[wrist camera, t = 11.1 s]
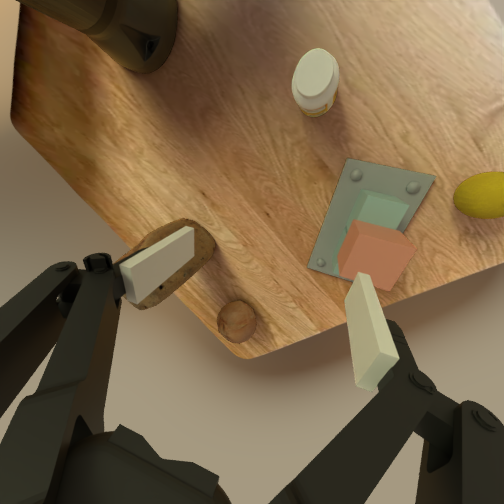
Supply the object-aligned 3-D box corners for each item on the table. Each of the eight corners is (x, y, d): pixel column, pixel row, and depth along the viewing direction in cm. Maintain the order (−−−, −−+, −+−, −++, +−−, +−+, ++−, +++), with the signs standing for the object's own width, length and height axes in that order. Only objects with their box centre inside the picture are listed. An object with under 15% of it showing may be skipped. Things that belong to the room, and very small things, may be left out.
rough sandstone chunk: (223, 249, 46) (163, 306, 29) (202, 263, 50) (137, 320, 33) (193, 209, 44) (109, 245, 27) (173, 226, 48) (89, 267, 31)
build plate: (347, 157, 32) (352, 158, 25) (432, 175, 29) (461, 181, 23) (307, 264, 41) (304, 284, 35) (369, 284, 39) (377, 308, 33)
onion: (234, 298, 55) (202, 312, 48) (256, 292, 49) (224, 308, 42) (246, 332, 54) (216, 351, 47) (270, 330, 48) (240, 353, 41)
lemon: (433, 202, 30) (464, 216, 24) (462, 163, 28) (507, 167, 21) (472, 215, 30) (516, 234, 23) (506, 177, 27) (567, 185, 20)
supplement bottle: (318, 61, 28) (315, 22, 20) (345, 91, 28) (353, 64, 20) (290, 100, 31) (277, 80, 22) (315, 126, 31) (311, 116, 23)
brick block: (353, 219, 28) (359, 233, 23) (399, 230, 27) (417, 249, 22) (337, 255, 31) (339, 275, 26) (378, 268, 30) (389, 291, 25)
